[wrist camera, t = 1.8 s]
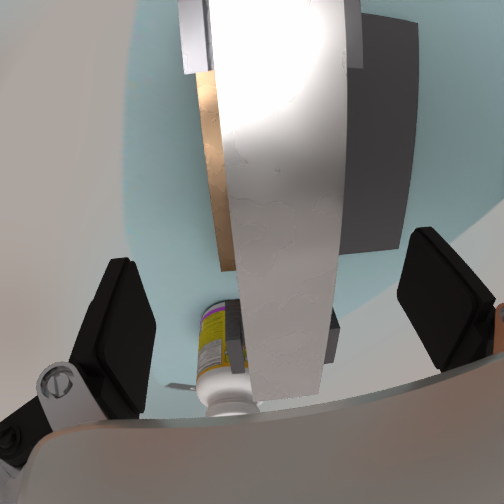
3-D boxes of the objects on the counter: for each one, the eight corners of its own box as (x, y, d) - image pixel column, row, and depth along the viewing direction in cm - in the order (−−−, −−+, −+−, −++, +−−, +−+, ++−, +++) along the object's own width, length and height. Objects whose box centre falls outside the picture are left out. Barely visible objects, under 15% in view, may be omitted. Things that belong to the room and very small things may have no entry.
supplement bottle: (272, 322, 35) (287, 425, 25) (227, 347, 37) (229, 444, 27) (234, 288, 32) (239, 399, 22) (187, 317, 34) (178, 422, 24)
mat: (414, 23, 18) (417, 23, 18) (395, 245, 31) (398, 248, 30) (303, 9, 18) (305, 8, 18) (307, 254, 30) (308, 257, 30)
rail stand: (301, 9, 18) (378, -39, 7) (305, 254, 30) (344, 372, 19) (192, 15, 18) (148, -37, 7) (221, 262, 30) (220, 387, 19)
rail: (311, -32, 9) (337, -58, 6) (308, 351, 21) (317, 394, 18) (211, -30, 9) (205, -60, 6) (249, 357, 21) (253, 401, 18)
